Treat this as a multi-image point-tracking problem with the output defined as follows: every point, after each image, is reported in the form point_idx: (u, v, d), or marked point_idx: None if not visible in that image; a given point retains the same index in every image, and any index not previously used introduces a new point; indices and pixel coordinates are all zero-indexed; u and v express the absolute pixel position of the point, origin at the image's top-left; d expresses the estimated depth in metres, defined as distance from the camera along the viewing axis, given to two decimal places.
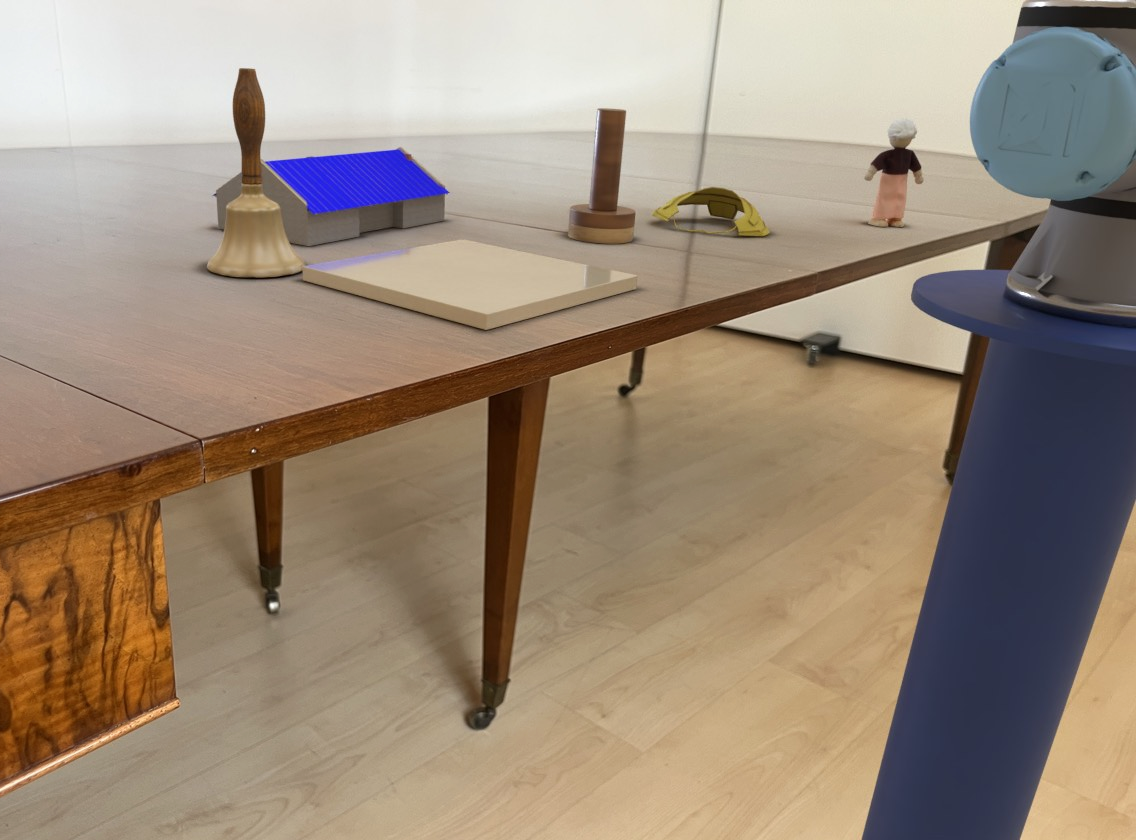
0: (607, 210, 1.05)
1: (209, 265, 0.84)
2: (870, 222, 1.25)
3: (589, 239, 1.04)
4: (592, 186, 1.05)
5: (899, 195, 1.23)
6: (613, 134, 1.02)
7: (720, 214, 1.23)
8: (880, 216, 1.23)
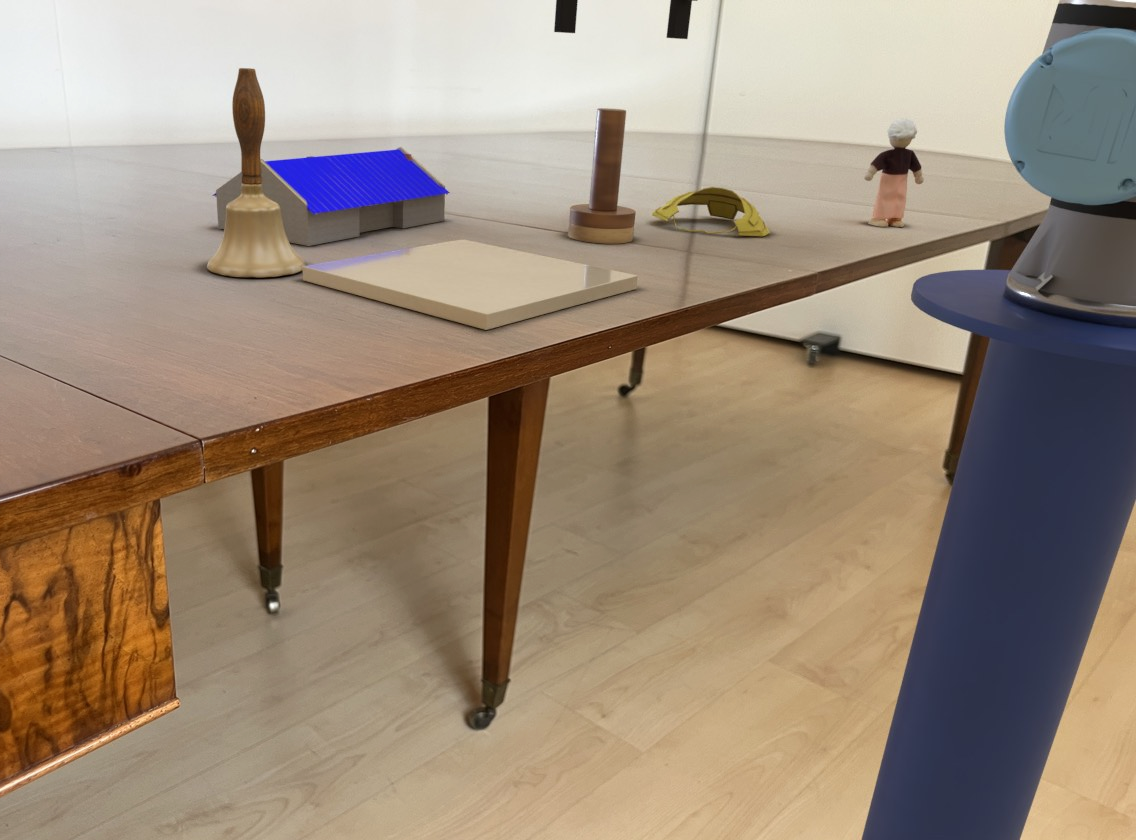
0: (607, 210, 1.05)
1: (209, 265, 0.84)
2: (870, 222, 1.25)
3: (589, 239, 1.04)
4: (592, 186, 1.05)
5: (899, 195, 1.23)
6: (613, 134, 1.02)
7: (720, 214, 1.23)
8: (880, 216, 1.23)
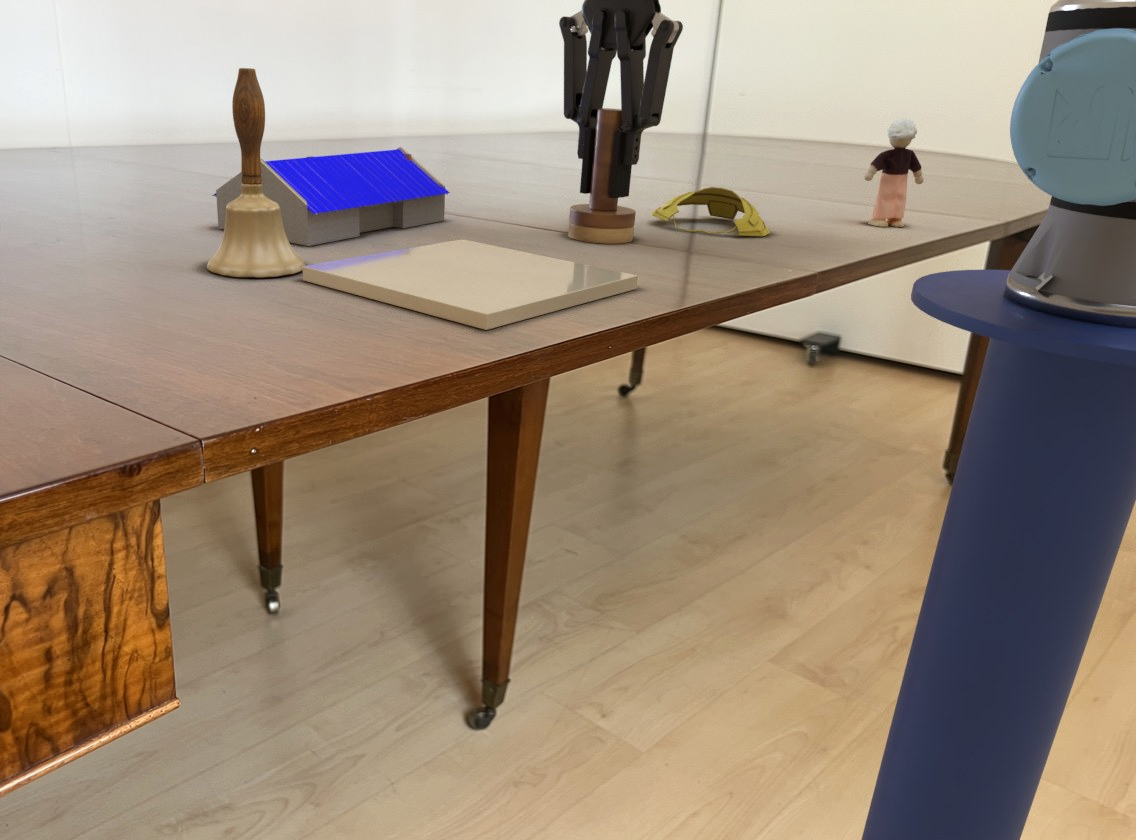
0: (607, 210, 1.05)
1: (209, 265, 0.84)
2: (870, 222, 1.25)
3: (589, 239, 1.04)
4: (592, 186, 1.05)
5: (899, 195, 1.23)
6: (613, 134, 1.02)
7: (720, 214, 1.23)
8: (880, 216, 1.23)
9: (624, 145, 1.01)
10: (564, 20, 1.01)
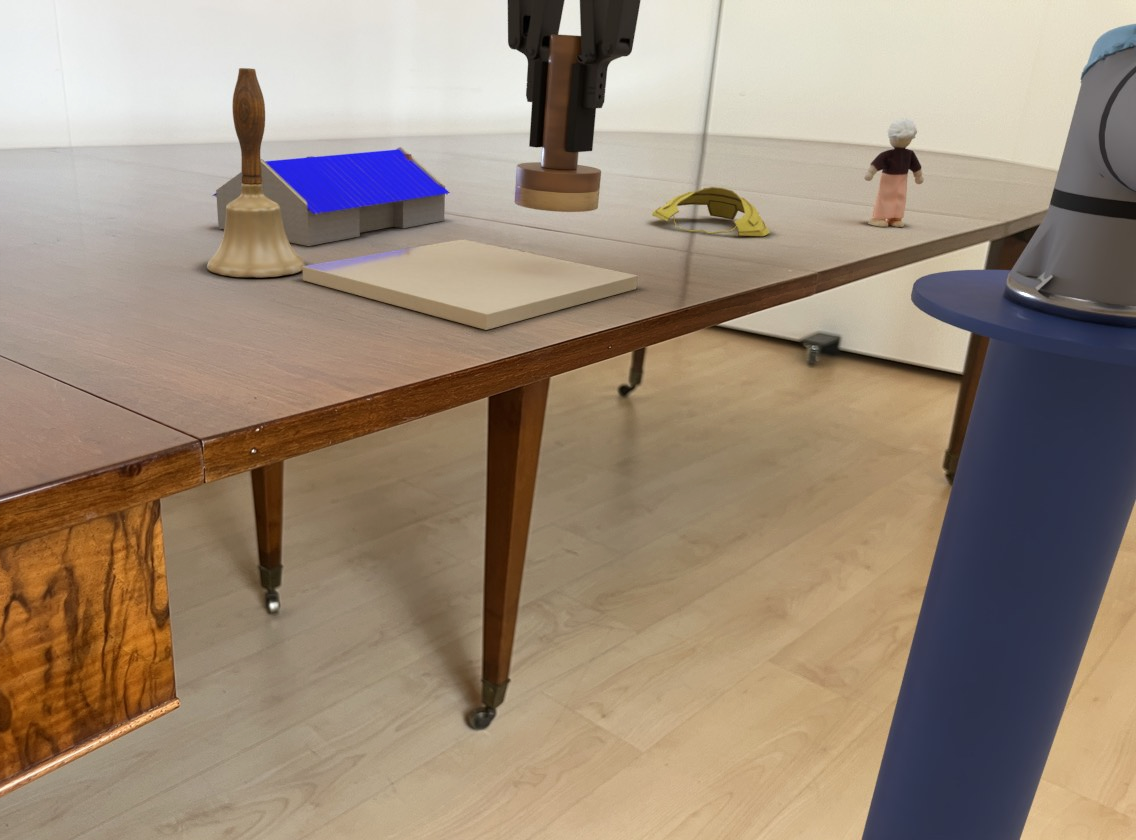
0: (564, 168, 0.81)
1: (209, 265, 0.84)
2: (870, 222, 1.25)
3: (540, 206, 0.80)
4: (544, 137, 0.81)
5: (899, 195, 1.23)
6: (571, 67, 0.78)
7: (720, 214, 1.23)
8: (880, 216, 1.23)
9: (585, 82, 0.77)
10: None
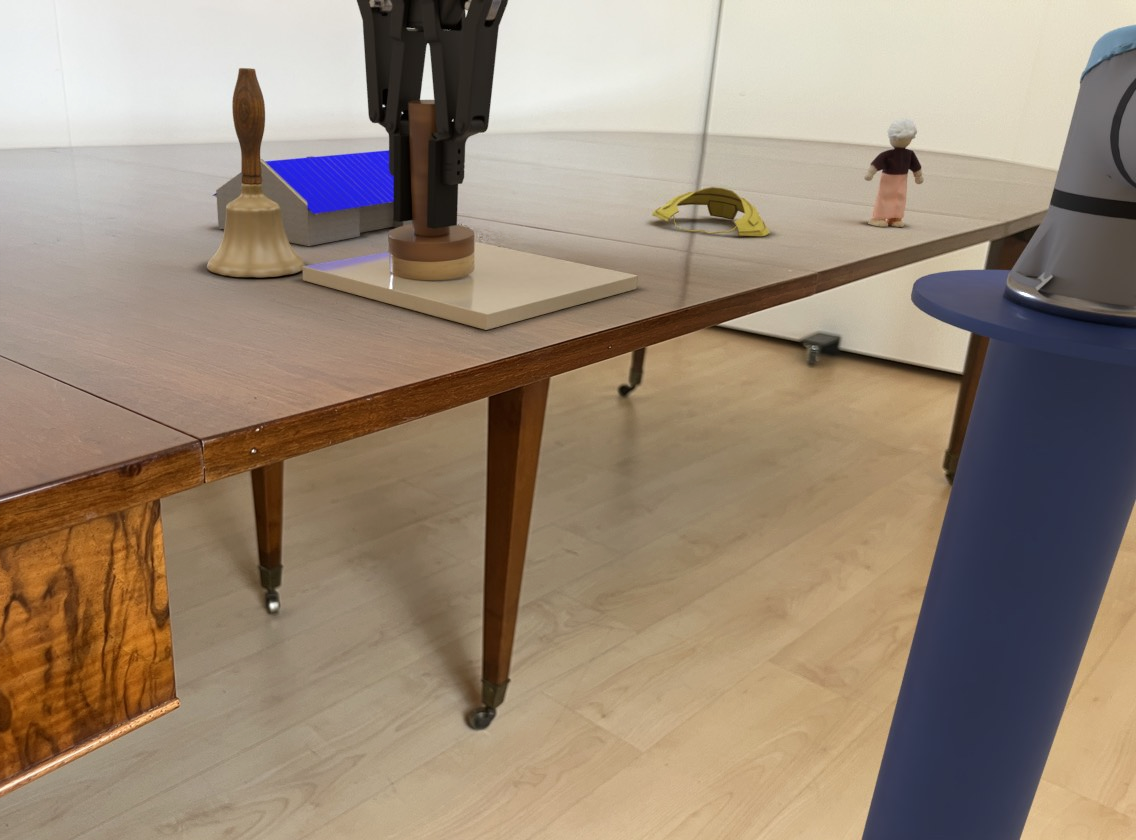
0: (436, 235, 0.79)
1: (209, 265, 0.84)
2: (870, 222, 1.25)
3: (415, 276, 0.79)
4: (413, 204, 0.79)
5: (899, 195, 1.23)
6: None
7: (720, 214, 1.23)
8: (880, 216, 1.23)
9: (442, 158, 0.76)
10: None
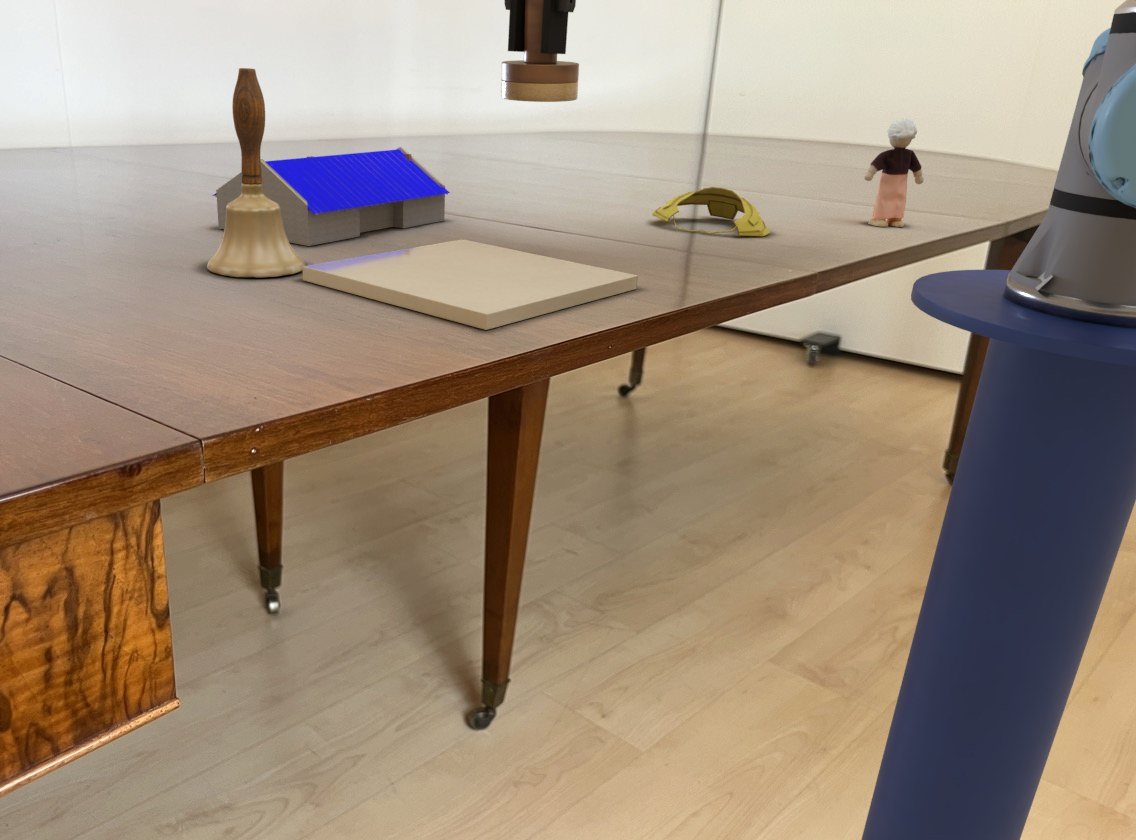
0: (546, 62, 0.88)
1: (209, 265, 0.84)
2: (870, 222, 1.25)
3: (527, 97, 0.88)
4: (526, 34, 0.88)
5: (899, 195, 1.23)
6: None
7: (720, 214, 1.23)
8: (880, 216, 1.23)
9: None
10: None
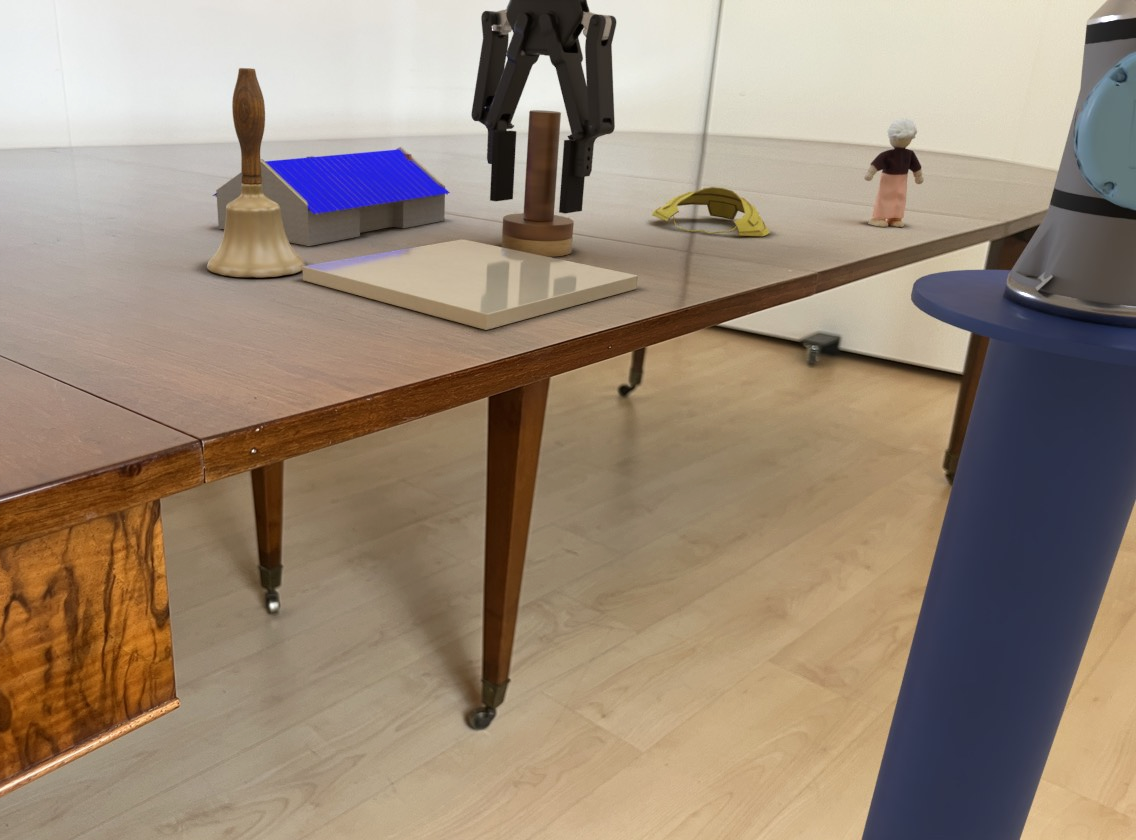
0: (543, 220, 0.97)
1: (209, 265, 0.84)
2: (870, 222, 1.25)
3: None
4: (526, 195, 0.97)
5: (899, 195, 1.23)
6: (548, 138, 0.94)
7: (720, 214, 1.23)
8: (880, 216, 1.23)
9: (575, 155, 0.92)
10: (487, 15, 0.93)
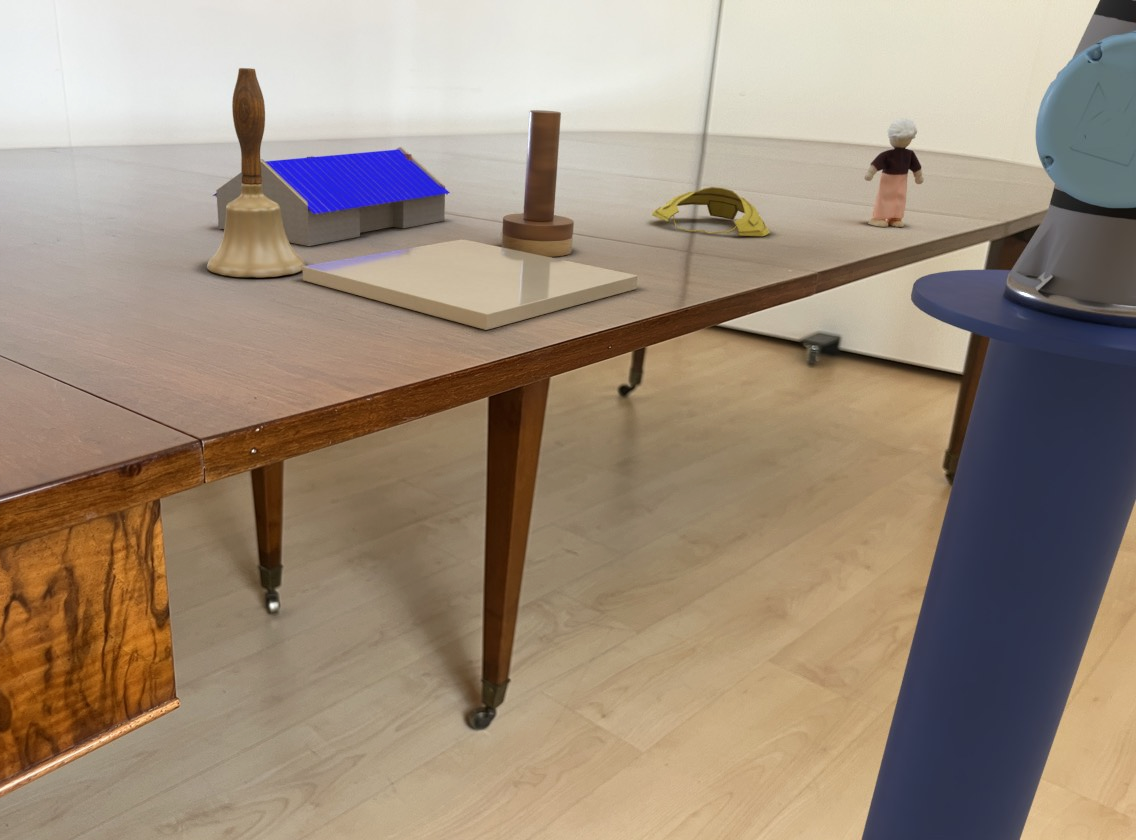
0: (543, 220, 0.97)
1: (209, 265, 0.84)
2: (870, 222, 1.25)
3: None
4: (526, 195, 0.97)
5: (899, 195, 1.23)
6: (548, 138, 0.94)
7: (720, 214, 1.23)
8: (880, 216, 1.23)
9: None
10: None
